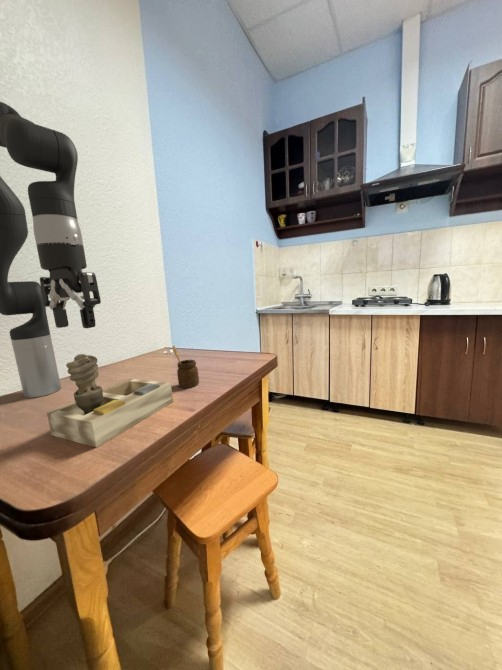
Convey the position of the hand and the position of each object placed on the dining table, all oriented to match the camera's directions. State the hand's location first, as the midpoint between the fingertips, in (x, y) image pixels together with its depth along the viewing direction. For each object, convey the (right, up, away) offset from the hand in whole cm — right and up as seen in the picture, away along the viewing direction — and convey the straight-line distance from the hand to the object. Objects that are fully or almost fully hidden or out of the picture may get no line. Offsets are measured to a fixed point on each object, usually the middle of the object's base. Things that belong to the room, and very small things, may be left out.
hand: (75, 327), depth 56 cm
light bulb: (+1, -20, +4) cm, 21 cm away
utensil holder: (+17, -16, +26) cm, 35 cm away
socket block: (+5, -20, +8) cm, 22 cm away
